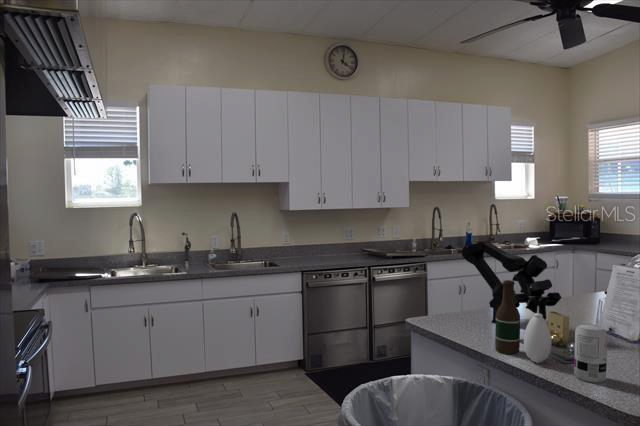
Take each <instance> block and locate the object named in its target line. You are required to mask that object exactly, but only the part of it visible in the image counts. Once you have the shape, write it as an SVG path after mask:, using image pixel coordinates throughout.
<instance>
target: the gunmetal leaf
mask: <svg viewBox="0 0 640 426" xmlns="http://www.w3.org/2000/svg"><path fill="white" fill-rule="evenodd" d="M551 354H552V355H554V356H556V357H558V358H560V359H562V360H564V361H573V360H574V359H575V342H570V341H569V344H568V345H567V350H552V351H551Z"/></svg>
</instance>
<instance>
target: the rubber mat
mask: <svg viewBox="0 0 640 426" xmlns="http://www.w3.org/2000/svg"><path fill="white" fill-rule="evenodd" d="M520 344H522V345H524V338H520ZM552 350H567V345H565V346H556V345H554V344H552V343H551V350H550V353H549V355H548V357H549V358H551V359H553V360H555V361H557V362H559V363H561V364H563V365H572V364H574V360H573V361H564V360H562V359H560V358H558V357H556V356H554V355H552V354H551V351H552ZM548 357H547V358H548Z"/></svg>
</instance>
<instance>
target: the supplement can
mask: <svg viewBox="0 0 640 426" xmlns="http://www.w3.org/2000/svg"><path fill="white" fill-rule="evenodd" d="M574 331H575V332H574V343H575V359H574V365H573V375H574V376H576V378H577V379H579V380H580V381H583V382H588V383H596V384H598V383H602V382H604V381H605V380H607V365H608V364H607V362H608V361H607V359H608V358H607V357H608V332H607V331H606V328H605V327H604V326H602V325H598V324H592V323H580V324H577V326H576V328H575V330H574Z"/></svg>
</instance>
